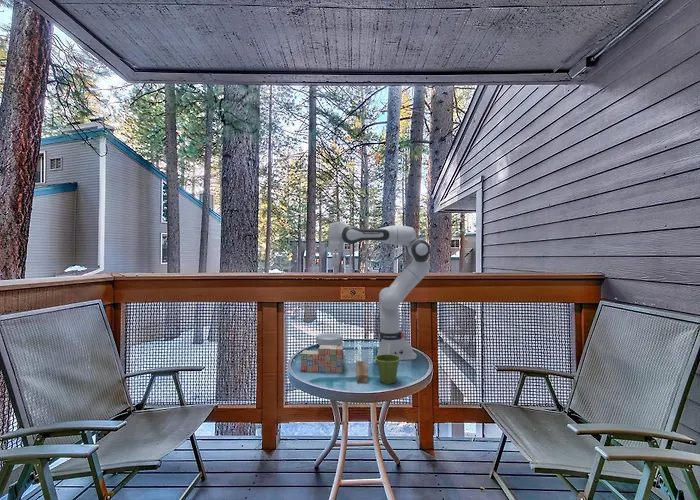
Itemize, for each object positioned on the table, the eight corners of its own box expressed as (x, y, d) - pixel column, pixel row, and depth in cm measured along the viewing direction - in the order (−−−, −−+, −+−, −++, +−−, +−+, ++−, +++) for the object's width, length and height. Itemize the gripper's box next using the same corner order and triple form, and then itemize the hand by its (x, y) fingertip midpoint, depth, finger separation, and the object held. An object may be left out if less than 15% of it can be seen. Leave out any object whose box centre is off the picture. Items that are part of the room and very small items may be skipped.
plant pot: (396, 376, 175) (396, 353, 174) (403, 385, 163) (403, 361, 163) (372, 377, 173) (372, 354, 173) (378, 387, 161) (378, 362, 161)
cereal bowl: (344, 350, 217) (344, 338, 217) (317, 351, 214) (317, 340, 214) (339, 342, 234) (339, 331, 234) (314, 344, 231) (314, 333, 230)
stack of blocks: (300, 371, 181) (300, 347, 181) (303, 367, 187) (303, 344, 187) (342, 373, 179) (342, 348, 178) (343, 368, 185) (343, 345, 185)
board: (365, 368, 186) (365, 361, 186) (367, 383, 166) (367, 375, 166) (356, 368, 186) (356, 361, 186) (357, 383, 166) (357, 375, 166)
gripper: (341, 249, 194) (341, 274, 195) (341, 249, 215) (342, 271, 215) (329, 249, 194) (329, 274, 195) (331, 249, 215) (331, 271, 215)
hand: (336, 273), depth 205 cm, fingers open, 8 cm apart
